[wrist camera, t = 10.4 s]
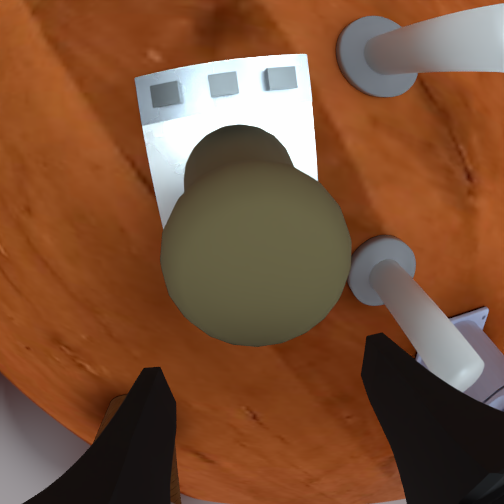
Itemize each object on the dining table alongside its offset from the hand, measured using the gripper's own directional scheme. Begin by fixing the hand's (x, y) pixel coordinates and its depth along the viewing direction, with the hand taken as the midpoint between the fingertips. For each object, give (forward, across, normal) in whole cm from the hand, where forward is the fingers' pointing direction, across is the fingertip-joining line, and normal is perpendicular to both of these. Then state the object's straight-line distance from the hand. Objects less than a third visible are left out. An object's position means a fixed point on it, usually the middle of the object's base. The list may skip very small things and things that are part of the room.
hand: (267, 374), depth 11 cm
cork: (+10, 0, -4) cm, 11 cm away
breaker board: (+10, 0, -4) cm, 11 cm away
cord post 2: (+10, -9, +3) cm, 14 cm away
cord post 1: (+10, -9, -11) cm, 18 cm away
